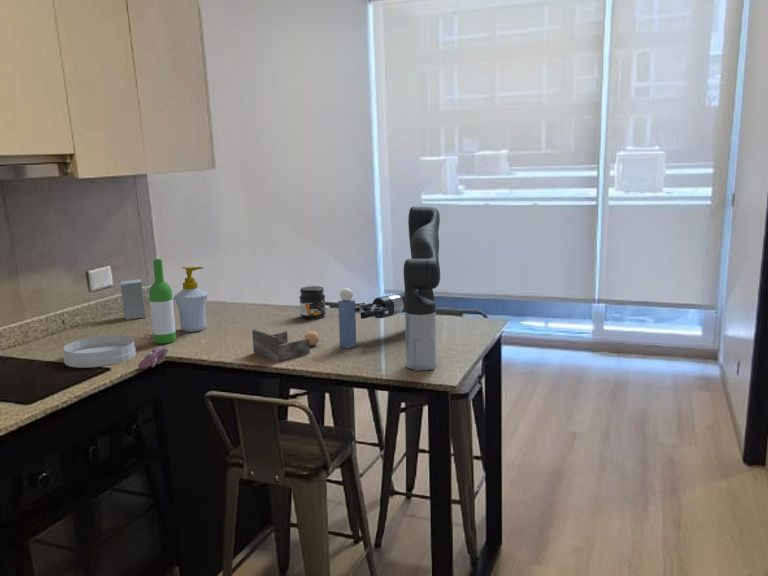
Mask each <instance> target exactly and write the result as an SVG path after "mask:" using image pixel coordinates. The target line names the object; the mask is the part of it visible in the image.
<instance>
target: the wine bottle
mask: <svg viewBox="0 0 768 576" xmlns="http://www.w3.org/2000/svg"><path fill="white" fill-rule="evenodd" d="M152 260H153V261H152V262H153V273H154V283H152V285H151V286H150V287H149V291H148V295H149V305H150V306H149V308H150V316H151V328H152V330H151V331H152V337H153V342H154V343H155V344H159V345H165V344H170V343H173V342H175V341H176V339H177V335H176V333H177V332H176V320H175V312H174V300H173V299H174V298H173V291H172V288H171V286H170V285H169V284H168V283H167V282H166V281H165V279H164V268H163V267H164V266H163V260H162V259H161V258H158V259H157V258H156V259H152Z"/></svg>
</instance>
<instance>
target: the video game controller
mask: <svg viewBox="0 0 768 576" xmlns="http://www.w3.org/2000/svg"><path fill="white" fill-rule="evenodd" d="M168 352H169V351H168V349H167V348H165V347H162V346H159V347H155V348H152V350H151V351H150V352H149V353H147V355H146V356H145V357H144V358H143V359H142V360H141V361H140V362H138V366H137V367H138V369H139V370H145V369H146V368H149V367H151V368H155V366H156V364H157V365H160V364H161V363H162V361H163V359H164V358H165V357H166V356H167V354H168Z"/></svg>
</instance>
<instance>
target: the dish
mask: <svg viewBox="0 0 768 576" xmlns="http://www.w3.org/2000/svg"><path fill="white" fill-rule="evenodd" d="M62 348H63V361H64V364H65V365H66V366H68V367H70V368H71V367H72V368H80V369H81V368H84V369H85V368H86V369H87V368H99V367H107V366H112V365H116V364H118V363H119V364H120V363H122V362H125V361H128V360H130V359H132V358H134V357H135V356H136V355H137V352H136V345H135V338H133V337H132V336H128V335H123V334H122V335H119V334H118V335H117V334H112V335H111V334H110V335H100V336H99V335H98V336H93V337H92V336H91V337H86V338H82V339H77V340H75V341H72V342H70V343H67V344H66V345H65V346H63V347H62Z"/></svg>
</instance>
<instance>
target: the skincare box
mask: <svg viewBox="0 0 768 576" xmlns="http://www.w3.org/2000/svg"><path fill="white" fill-rule="evenodd" d="M119 285H120V291H121V299H122V305H123V313H124V317H125V321H128V320H136V319H143V318H146V317H147V316H146V309H145V308H146V307H145V301H144V293H143V283H142V280H141V279H133V280H123V281H120V282H119Z"/></svg>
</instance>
